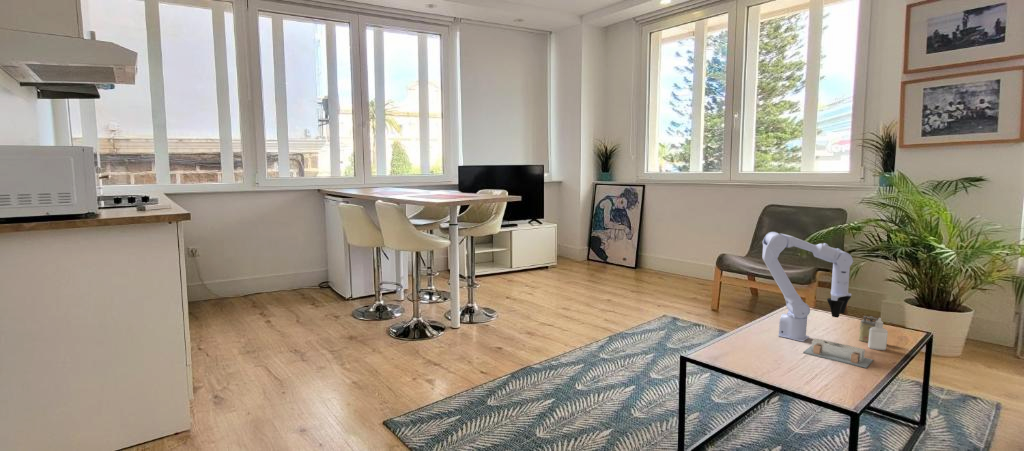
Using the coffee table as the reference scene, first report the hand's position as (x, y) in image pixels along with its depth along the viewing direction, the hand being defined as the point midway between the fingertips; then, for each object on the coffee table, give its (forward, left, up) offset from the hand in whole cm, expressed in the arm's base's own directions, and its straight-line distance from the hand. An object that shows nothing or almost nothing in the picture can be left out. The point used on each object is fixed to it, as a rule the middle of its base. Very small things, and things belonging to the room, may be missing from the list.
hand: (838, 314), depth 211 cm
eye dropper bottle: (+14, +1, -11) cm, 17 cm away
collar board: (+6, -20, -10) cm, 23 cm away
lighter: (+10, +8, -11) cm, 16 cm away
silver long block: (+5, -20, -10) cm, 23 cm away
